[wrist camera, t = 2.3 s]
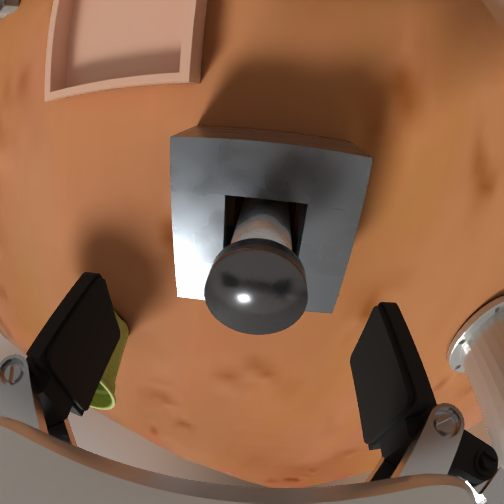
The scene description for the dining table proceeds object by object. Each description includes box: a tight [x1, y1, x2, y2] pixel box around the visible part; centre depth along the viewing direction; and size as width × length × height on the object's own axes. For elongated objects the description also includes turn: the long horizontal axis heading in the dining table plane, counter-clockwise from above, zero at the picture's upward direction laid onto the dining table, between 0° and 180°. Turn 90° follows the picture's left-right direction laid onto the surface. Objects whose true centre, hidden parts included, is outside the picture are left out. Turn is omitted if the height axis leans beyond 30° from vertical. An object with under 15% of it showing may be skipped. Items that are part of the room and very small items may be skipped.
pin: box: [204, 197, 308, 335], centre depth 15 cm, size 4×4×10 cm
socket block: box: [170, 126, 373, 313], centre depth 18 cm, size 10×10×5 cm
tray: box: [45, 0, 208, 101], centre depth 12 cm, size 11×10×2 cm
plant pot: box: [90, 311, 129, 410], centre depth 24 cm, size 9×9×9 cm
